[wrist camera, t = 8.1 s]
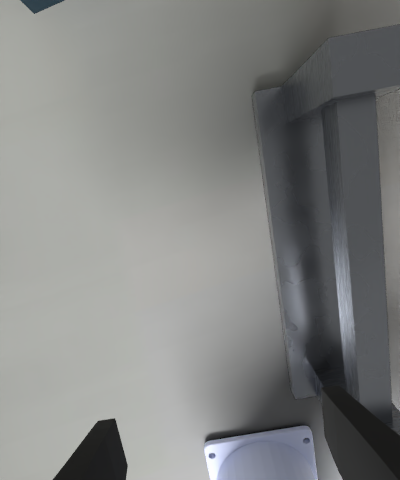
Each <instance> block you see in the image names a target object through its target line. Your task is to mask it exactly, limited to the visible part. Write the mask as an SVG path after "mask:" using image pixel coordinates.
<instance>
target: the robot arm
mask: <svg viewBox="0 0 400 480" xmlns="http://www.w3.org/2000/svg"><path fill="white" fill-rule="evenodd" d="M321 395H322V407H323V419H324V432H325V438H326V441H327V443H328V446H329V448H330V451H331V453H332V456H333V458H334V461H335V463H336V466H337V468H338V471H339V473H340V474H341V476H342V478H343V480H400V435H399V434H398V433H396V432H395V431H394V430H392V429H391V428H390V427H389V426H387V425H386V424H385V423H384V422H382V421H381V420H380V419H379V418H377V417H376V416H375V415H374V414H372V413H371V412H370V411H369V410H368V409H366V408H365V407H364V406H363V405H362V404H361V403H359V402H358V401H357V400H356V399H355V398H353V397H352V396H351V395H350V394H349V393H348V392H346V391H345V390H344V389H343V388H342V387H340V386H339V385H337V386H330V387H323V388H321ZM304 438H307V439H304ZM204 452H205V457H206V462H207V466H208V471H209V476H210V480H318V477H317V469H316V461H315V452H314V444H313V436H312V432H311V429H310V428H309V427H308V426H298V427H291V428H285V429H279V430H273V431H266V432H260V433H254V434H248V435H242V436H235V437H229V438H223V439H217V440H210V441H207V442H206V443H205V444H204ZM210 453H214V454H210ZM127 466H128V465H127V462H126V458H125V454H124V450H123V447H122V443H121V439H120V435H119V432H118V428H117V424H116V420H115V419H108V420H101V421H98V422H97V423H96V424H95V425H94V427H93V428H92V429H91V431H90V432H89V433H88V435H87V436H86V437H85V439H84V440H83V441H82V442H81V444H80V445H79V446H78V448H77V449H76V450H75V452H74V453H73V454H72V456H71V457H70V458H69V460H68V461H67V462H66V464H65V465H64V466H63V467H62V469H61V470H60V471H59V472H58V474H57V475H56V476H55V478H54V479H53V480H126V474H127Z"/></svg>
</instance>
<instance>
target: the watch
mask: <svg viewBox="0 0 400 480" xmlns="http://www.w3.org/2000/svg"><path fill="white" fill-rule="evenodd" d="M21 1H22V2H23V3H24V4H25V5H26V6H27V7H28V8H29V9H30V10H31V11H32V12H33V13H34V14H35V13H37V12H39V11H42V10H44V9H46V8H48V7H51V6H53V5H55V4H57V3H60V2H62V1H64V0H21Z"/></svg>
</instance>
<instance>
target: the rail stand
mask: <svg viewBox="0 0 400 480" xmlns="http://www.w3.org/2000/svg"><path fill="white" fill-rule="evenodd" d="M397 89H400V24H398V25H393V26H388V27H382V28H377V29H372V30H367V31H362V32H357V33H352V34H346V35H341V36H336V37H331V38H328V39H327V40H326V41H325V42H324V43H323V44H322V45H321V46H320V47H319V48H318V49H317V51H316V52H315V53H314V54H313V55H312V56H311V57H310V58H309V59H308V60H307V61H306V62H305V63H304V64H303V65H302V66H301V67H300V68H299V69H298V70H297V71H296V72H295V73H294V74H293V75H292V76H291V77H290V78H289V79H288V80H287V81H286V82H285V83H284V84H283V85H282V86H280V87H275V88H270V89H265V90H259V91H255V92H254V93H253V95H252V102H253V110H254V117H255V125H256V132H257V140H258V147H259V155H260V162H261V170H262V177H263V185H264V192H265V200H266V207H267V215H268V222H269V230H270V237H271V245H272V252H273V259H274V267H275V274H276V282H277V289H278V297H279V304H280V312H281V319H282V327H283V334H284V342H285V349H286V357H287V364H288V372H289V379H290V387H291V391H292V393H293V395H294V398H295V399H300V398H307V397H313V396H317V397H318V399H319V401H320V403H321V404H322V395H321V388H323V387H330V386H337V385H339V386H340V387H342V388H343V389H344V390H345V391H346V392H348V393H349V394H350V395H351V396H352V397H353V398H355V399H356V400H357V401H358V402H359V403H361V404H362V405H363V406H364V407H365V408H366V409H368V410H369V411H370V412H371V413H372V414H374V415H375V416H376V417H377V418H379V419H380V420H381V421H382V422H384V423H385V424H386V425H387V426H389V427H390V428H391V429H392V430H394V431H395V432H396V433H398V434H399V435H400V412H399V410H398V409H397V408H396V407H395V406H394V405H393V403H392V398H391V379H390V360H389V341H388V322H387V303H386V284H385V265H384V246H383V227H382V208H381V189H380V170H379V151H378V132H377V113H376V98H378V97H381V96H383V95H386V94H388V93H390V92H393V91H395V90H397Z"/></svg>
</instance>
